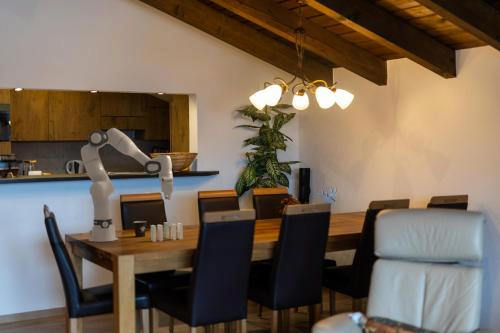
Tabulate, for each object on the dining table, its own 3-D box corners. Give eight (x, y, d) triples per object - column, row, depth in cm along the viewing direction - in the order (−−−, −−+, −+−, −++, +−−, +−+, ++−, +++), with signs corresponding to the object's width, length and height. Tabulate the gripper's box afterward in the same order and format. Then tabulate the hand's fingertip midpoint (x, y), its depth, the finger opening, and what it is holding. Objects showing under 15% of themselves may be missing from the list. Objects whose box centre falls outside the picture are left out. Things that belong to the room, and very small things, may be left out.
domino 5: (177, 238, 446) (177, 223, 445) (180, 238, 447) (180, 223, 446) (179, 239, 441) (179, 224, 441) (182, 239, 442) (182, 223, 442)
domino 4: (170, 239, 444) (170, 223, 443) (173, 238, 445) (173, 223, 444) (173, 240, 439) (173, 224, 439) (176, 239, 440) (176, 224, 440)
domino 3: (163, 237, 452) (163, 222, 452) (166, 237, 453) (166, 222, 453) (166, 238, 448) (166, 223, 447) (169, 238, 449) (168, 223, 448)
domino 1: (151, 240, 438) (150, 225, 438) (154, 240, 439) (153, 225, 439) (153, 241, 434) (152, 226, 433) (156, 241, 434) (155, 225, 434)
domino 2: (157, 240, 440) (157, 224, 440) (160, 239, 441) (160, 224, 441) (160, 241, 435) (159, 225, 435) (163, 240, 436) (162, 225, 436)
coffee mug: (134, 237, 453) (133, 222, 453) (133, 235, 462) (133, 221, 462) (151, 236, 456) (151, 222, 455) (150, 235, 464) (150, 220, 464)
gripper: (158, 178, 454) (159, 199, 455) (164, 179, 435) (165, 200, 435) (167, 178, 456) (169, 198, 457) (173, 178, 437) (175, 199, 437)
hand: (167, 199), depth 446 cm, fingers open, 8 cm apart
